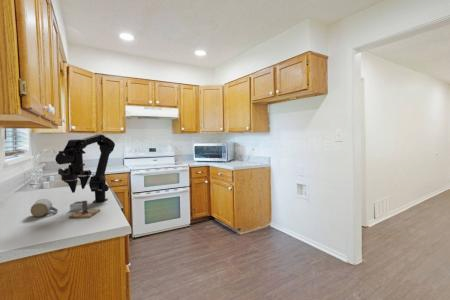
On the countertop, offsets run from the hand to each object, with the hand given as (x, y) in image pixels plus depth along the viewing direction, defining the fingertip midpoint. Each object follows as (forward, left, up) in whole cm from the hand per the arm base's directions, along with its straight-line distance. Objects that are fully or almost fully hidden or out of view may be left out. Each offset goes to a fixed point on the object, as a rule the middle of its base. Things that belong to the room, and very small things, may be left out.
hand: (78, 190), depth 128 cm
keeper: (+11, +9, -10) cm, 18 cm away
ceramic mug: (+8, -13, -10) cm, 18 cm away
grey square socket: (0, 0, -10) cm, 10 cm away
